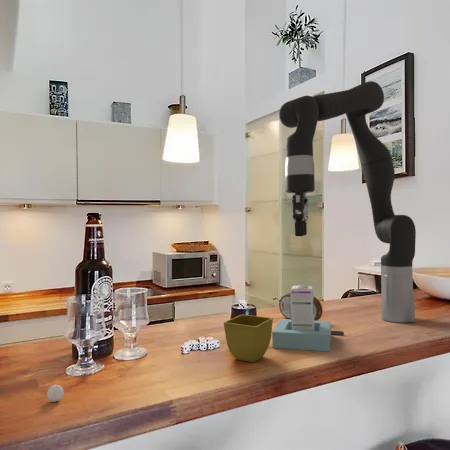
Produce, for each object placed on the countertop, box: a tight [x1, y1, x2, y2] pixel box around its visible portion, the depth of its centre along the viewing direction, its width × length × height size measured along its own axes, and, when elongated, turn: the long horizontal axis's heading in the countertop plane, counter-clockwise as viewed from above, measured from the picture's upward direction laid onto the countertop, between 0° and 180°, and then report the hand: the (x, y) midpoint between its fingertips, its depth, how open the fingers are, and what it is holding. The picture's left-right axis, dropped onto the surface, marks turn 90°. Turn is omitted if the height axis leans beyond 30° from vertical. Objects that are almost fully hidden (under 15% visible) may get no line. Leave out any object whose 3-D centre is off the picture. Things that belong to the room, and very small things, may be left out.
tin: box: [278, 292, 324, 321], centre depth 128 cm, size 15×3×8 cm, turn 47°
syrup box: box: [289, 284, 315, 331], centre depth 105 cm, size 6×6×14 cm
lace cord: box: [331, 330, 345, 336], centre depth 113 cm, size 19×1×1 cm, turn 74°
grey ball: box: [46, 384, 65, 403], centre depth 72 cm, size 3×3×3 cm
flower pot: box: [223, 314, 274, 363], centre depth 93 cm, size 9×9×9 cm
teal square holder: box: [271, 318, 332, 352], centre depth 106 cm, size 14×14×4 cm
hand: (301, 235), depth 105 cm, fingers open, 8 cm apart
